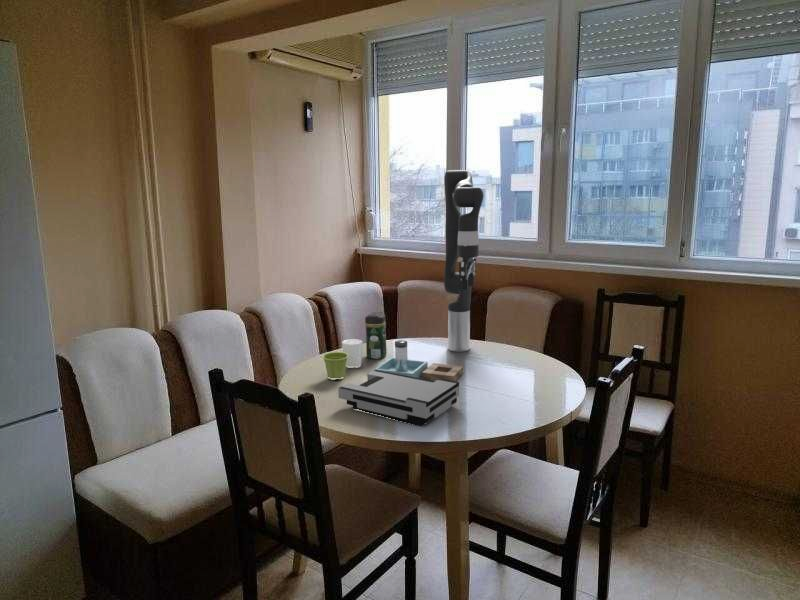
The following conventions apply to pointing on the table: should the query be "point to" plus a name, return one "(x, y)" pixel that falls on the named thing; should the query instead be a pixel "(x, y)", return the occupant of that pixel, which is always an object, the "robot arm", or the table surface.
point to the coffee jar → (375, 335)
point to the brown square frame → (442, 372)
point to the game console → (401, 396)
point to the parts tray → (413, 367)
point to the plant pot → (335, 364)
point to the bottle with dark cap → (401, 356)
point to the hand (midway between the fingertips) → (467, 287)
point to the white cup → (353, 351)
